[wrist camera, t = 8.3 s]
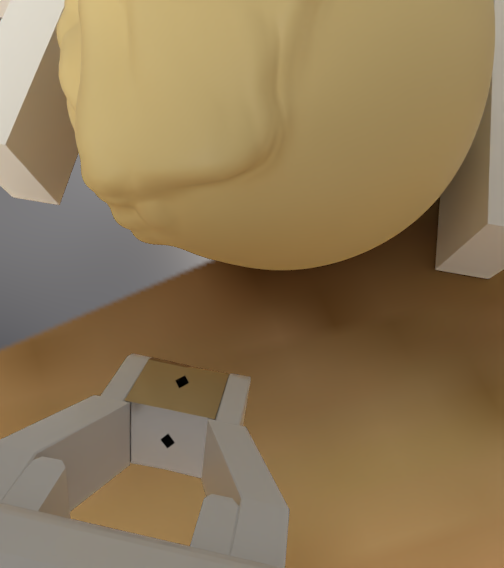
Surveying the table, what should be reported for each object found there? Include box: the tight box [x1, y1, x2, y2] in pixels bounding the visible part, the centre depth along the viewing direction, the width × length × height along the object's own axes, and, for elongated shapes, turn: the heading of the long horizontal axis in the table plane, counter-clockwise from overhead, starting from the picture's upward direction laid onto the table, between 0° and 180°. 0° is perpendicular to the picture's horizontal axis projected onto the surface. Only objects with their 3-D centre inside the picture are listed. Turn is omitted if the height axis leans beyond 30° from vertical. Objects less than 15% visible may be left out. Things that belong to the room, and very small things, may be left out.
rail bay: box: [0, 0, 504, 279], centre depth 16 cm, size 28×11×7 cm, turn 79°
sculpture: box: [56, 0, 495, 270], centre depth 13 cm, size 11×12×11 cm
